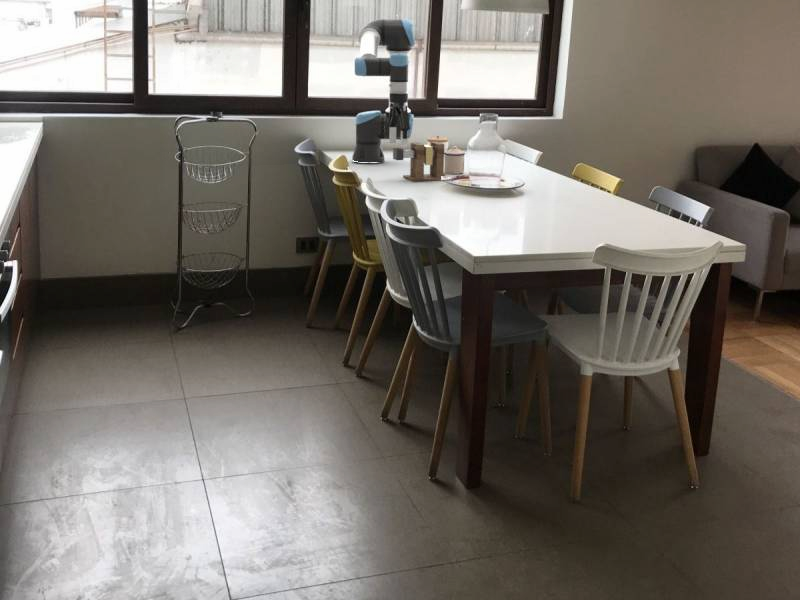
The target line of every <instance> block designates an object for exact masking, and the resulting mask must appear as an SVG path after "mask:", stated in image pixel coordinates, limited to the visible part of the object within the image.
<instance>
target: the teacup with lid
mask: <svg viewBox="0 0 800 600" xmlns="http://www.w3.org/2000/svg"><path fill="white" fill-rule="evenodd" d="M465 154H466V153H465V151H463V150H461V149H460V148H458V146H456V145H453V146H452V148H450V149H447V151H445V153H444V174H448V175H460V174H459V173H463V174H464V173H465V156H466V155H465Z"/></svg>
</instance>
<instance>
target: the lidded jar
mask: <svg viewBox="0 0 800 600" xmlns="http://www.w3.org/2000/svg"><path fill="white" fill-rule="evenodd" d="M426 141H427V144H426V145H429V146H430V143H431V142H440V143H443V144H444V153H445V151H448V150H449V149H448V148H449V142H450V139H449V138H448V137H440V135H439V134H437V135H436V137H428V138H427V139H426Z"/></svg>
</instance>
